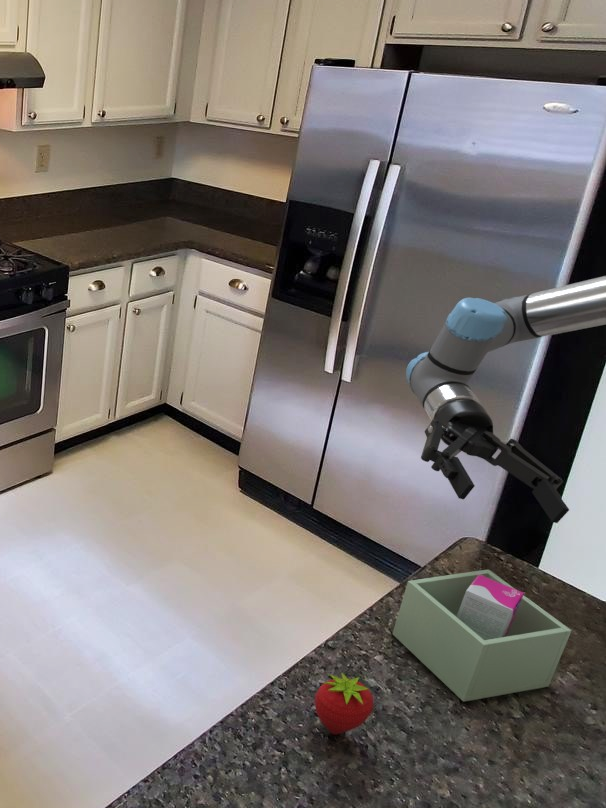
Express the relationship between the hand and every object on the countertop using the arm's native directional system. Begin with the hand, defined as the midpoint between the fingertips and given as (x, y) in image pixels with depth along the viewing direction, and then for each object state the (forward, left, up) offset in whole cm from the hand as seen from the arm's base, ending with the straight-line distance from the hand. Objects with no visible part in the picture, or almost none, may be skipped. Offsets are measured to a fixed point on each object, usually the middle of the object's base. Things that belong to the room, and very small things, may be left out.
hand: (513, 504), depth 113 cm
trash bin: (+7, +7, -21) cm, 23 cm away
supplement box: (+7, +7, -20) cm, 23 cm away
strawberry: (+34, +15, -21) cm, 43 cm away
